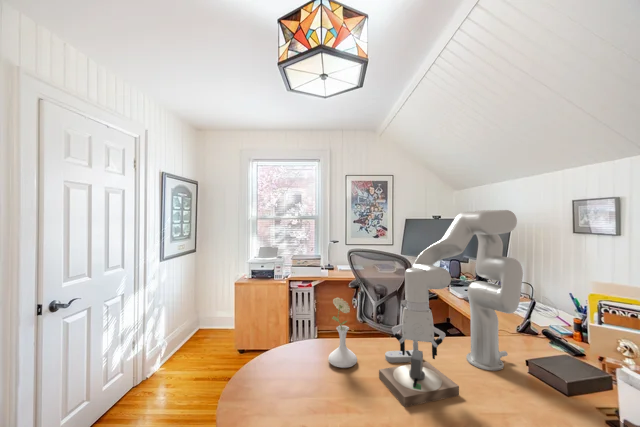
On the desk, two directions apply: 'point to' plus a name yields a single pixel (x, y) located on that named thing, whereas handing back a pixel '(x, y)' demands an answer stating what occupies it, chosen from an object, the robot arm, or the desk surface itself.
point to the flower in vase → (342, 340)
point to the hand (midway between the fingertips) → (418, 355)
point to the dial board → (418, 385)
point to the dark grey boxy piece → (417, 366)
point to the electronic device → (398, 357)
